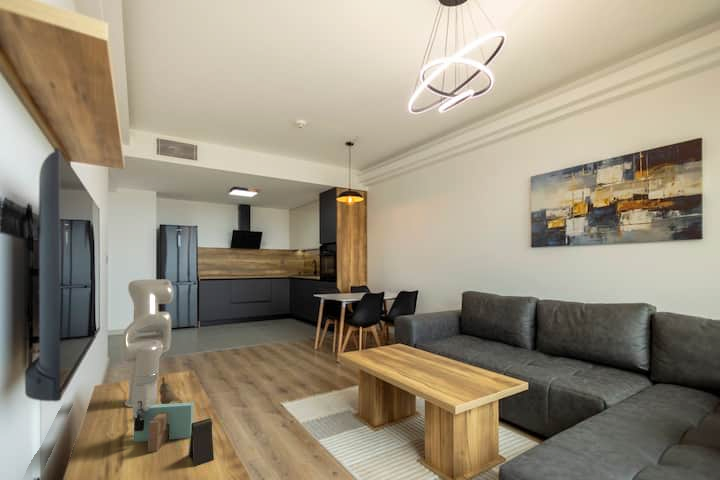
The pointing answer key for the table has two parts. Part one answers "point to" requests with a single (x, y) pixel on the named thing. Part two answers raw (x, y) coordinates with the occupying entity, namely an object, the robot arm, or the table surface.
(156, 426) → the walnut board
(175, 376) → the table surface
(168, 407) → the teal board
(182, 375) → the table surface
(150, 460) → the table surface
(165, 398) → the brown carved statuette
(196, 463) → the phone stand
